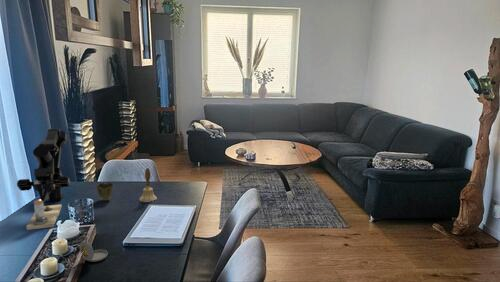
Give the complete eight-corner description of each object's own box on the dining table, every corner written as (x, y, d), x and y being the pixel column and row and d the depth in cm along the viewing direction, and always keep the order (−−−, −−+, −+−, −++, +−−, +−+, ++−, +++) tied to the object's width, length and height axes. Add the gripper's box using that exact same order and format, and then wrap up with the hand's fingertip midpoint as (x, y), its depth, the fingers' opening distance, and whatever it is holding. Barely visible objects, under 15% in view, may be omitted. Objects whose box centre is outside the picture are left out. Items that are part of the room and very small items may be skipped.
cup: (96, 203, 156) (95, 187, 155) (98, 197, 163) (97, 182, 162) (113, 202, 158) (112, 186, 157) (114, 196, 165) (114, 181, 164)
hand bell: (158, 195, 168) (157, 165, 165) (155, 202, 160) (154, 170, 157) (141, 196, 167) (139, 165, 164) (137, 202, 159) (136, 170, 156)
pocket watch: (110, 252, 116) (109, 225, 114) (100, 266, 108) (98, 238, 106) (87, 252, 116) (84, 225, 113) (75, 265, 107) (72, 237, 105)
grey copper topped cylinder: (36, 220, 134) (33, 198, 132) (47, 219, 135) (45, 197, 133) (33, 225, 130) (31, 201, 128) (45, 223, 131) (42, 200, 129)
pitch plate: (38, 209, 148) (38, 203, 147) (61, 207, 151) (61, 201, 150) (26, 229, 130) (26, 222, 129) (53, 226, 133) (52, 219, 132)
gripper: (15, 161, 135) (10, 196, 128) (66, 158, 142) (64, 191, 134) (22, 173, 144) (18, 207, 136) (70, 170, 151) (69, 202, 143)
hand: (42, 201), depth 137 cm, fingers closed
